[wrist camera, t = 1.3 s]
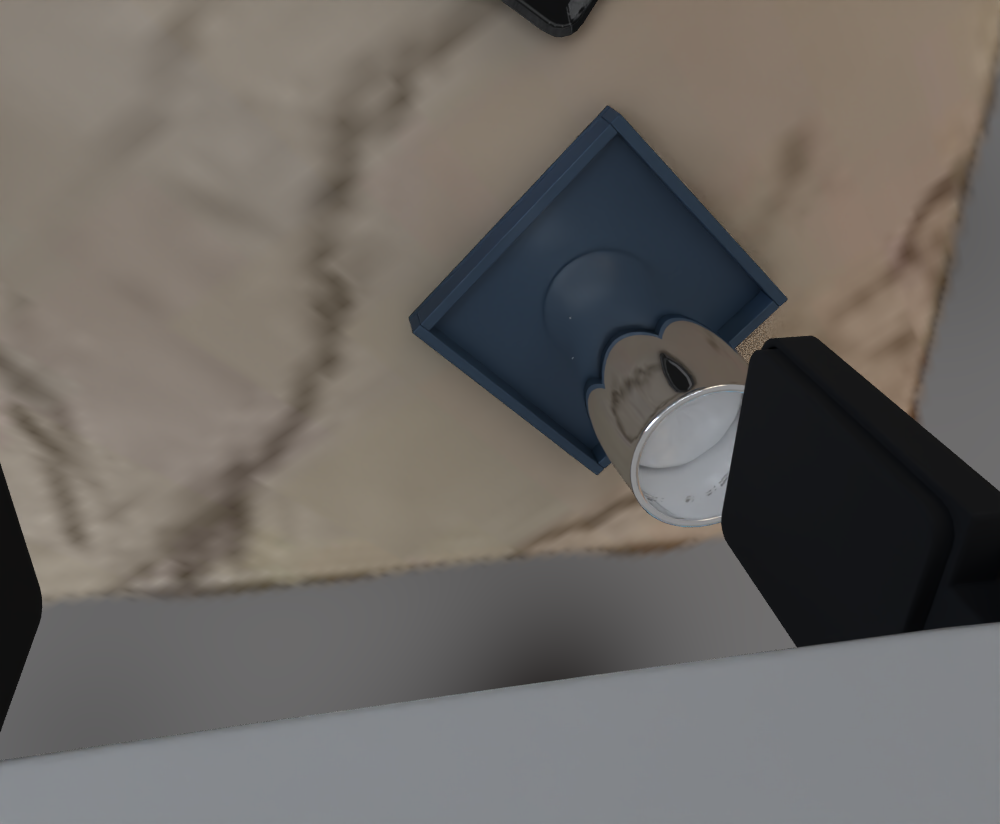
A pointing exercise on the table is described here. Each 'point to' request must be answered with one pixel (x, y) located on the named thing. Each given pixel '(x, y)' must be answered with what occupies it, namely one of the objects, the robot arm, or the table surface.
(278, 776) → the robot arm
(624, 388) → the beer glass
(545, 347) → the tray
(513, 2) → the phone
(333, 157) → the table surface
